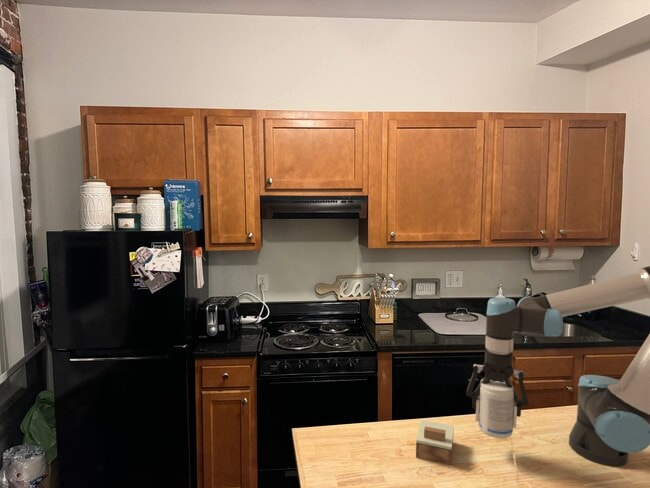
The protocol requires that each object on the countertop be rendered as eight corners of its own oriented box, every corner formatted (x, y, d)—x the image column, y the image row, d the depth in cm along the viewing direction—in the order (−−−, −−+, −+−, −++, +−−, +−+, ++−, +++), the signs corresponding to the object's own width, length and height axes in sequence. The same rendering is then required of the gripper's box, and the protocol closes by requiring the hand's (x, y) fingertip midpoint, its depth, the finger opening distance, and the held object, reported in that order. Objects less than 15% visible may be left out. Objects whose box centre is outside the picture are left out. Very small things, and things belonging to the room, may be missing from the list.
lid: (453, 428, 124) (453, 418, 124) (451, 449, 113) (451, 438, 112) (421, 422, 127) (421, 412, 127) (416, 442, 116) (416, 431, 116)
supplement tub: (519, 433, 117) (521, 385, 116) (500, 443, 112) (502, 394, 111) (489, 419, 125) (491, 374, 124) (471, 427, 120) (473, 381, 119)
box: (453, 444, 124) (453, 429, 124) (451, 468, 113) (451, 450, 113) (420, 438, 128) (421, 423, 127) (415, 460, 117) (416, 443, 116)
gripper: (539, 351, 116) (534, 423, 118) (459, 341, 124) (456, 409, 126) (543, 360, 109) (538, 436, 111) (458, 349, 117) (455, 421, 119)
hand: (495, 422), depth 118 cm, fingers closed on supplement tub, 10 cm apart
